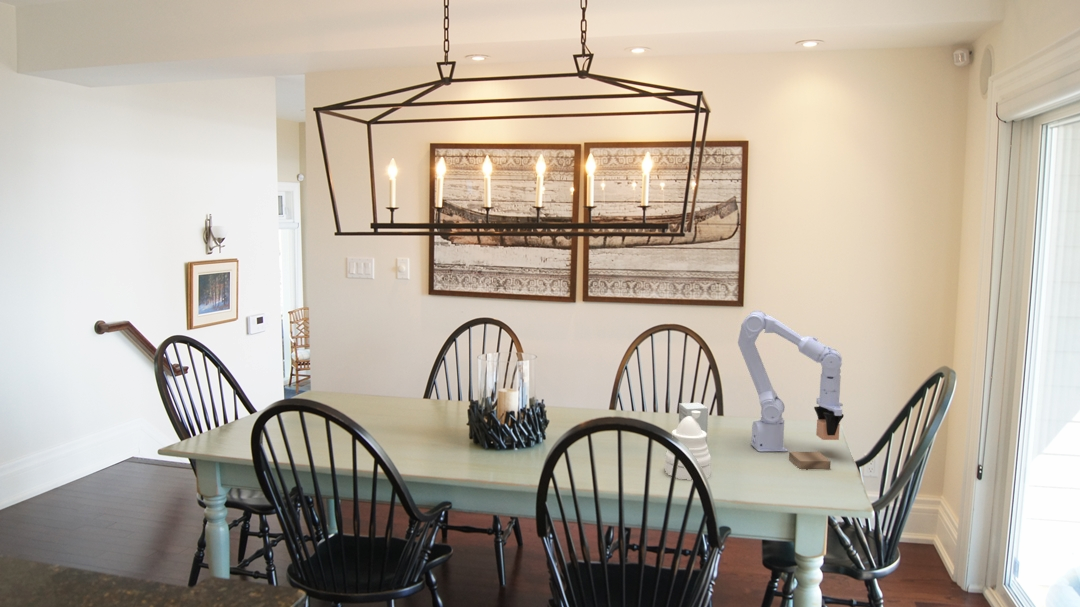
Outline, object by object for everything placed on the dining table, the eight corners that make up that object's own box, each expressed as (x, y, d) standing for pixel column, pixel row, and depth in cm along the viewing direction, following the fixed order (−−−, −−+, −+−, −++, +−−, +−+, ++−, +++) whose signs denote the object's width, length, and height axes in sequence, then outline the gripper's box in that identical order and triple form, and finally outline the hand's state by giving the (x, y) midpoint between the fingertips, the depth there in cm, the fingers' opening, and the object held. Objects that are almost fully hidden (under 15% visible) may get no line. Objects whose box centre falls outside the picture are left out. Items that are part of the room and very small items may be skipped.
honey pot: (701, 464, 228) (703, 405, 226) (717, 479, 215) (719, 417, 213) (659, 466, 226) (661, 406, 224) (673, 481, 213) (674, 418, 211)
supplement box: (698, 439, 253) (700, 401, 251) (707, 445, 246) (708, 407, 244) (677, 440, 252) (678, 402, 250) (685, 447, 244) (686, 408, 243)
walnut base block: (799, 471, 223) (800, 461, 223) (788, 461, 232) (789, 451, 232) (830, 471, 224) (830, 461, 223) (818, 461, 233) (818, 451, 232)
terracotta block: (822, 439, 234) (823, 423, 233) (816, 435, 239) (817, 419, 238) (838, 439, 234) (839, 423, 234) (831, 434, 239) (832, 419, 239)
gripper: (853, 395, 228) (850, 439, 229) (832, 384, 242) (830, 425, 244) (829, 395, 227) (827, 439, 229) (810, 384, 242) (808, 425, 243)
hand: (827, 432), depth 236 cm, fingers closed on terracotta block, 5 cm apart
